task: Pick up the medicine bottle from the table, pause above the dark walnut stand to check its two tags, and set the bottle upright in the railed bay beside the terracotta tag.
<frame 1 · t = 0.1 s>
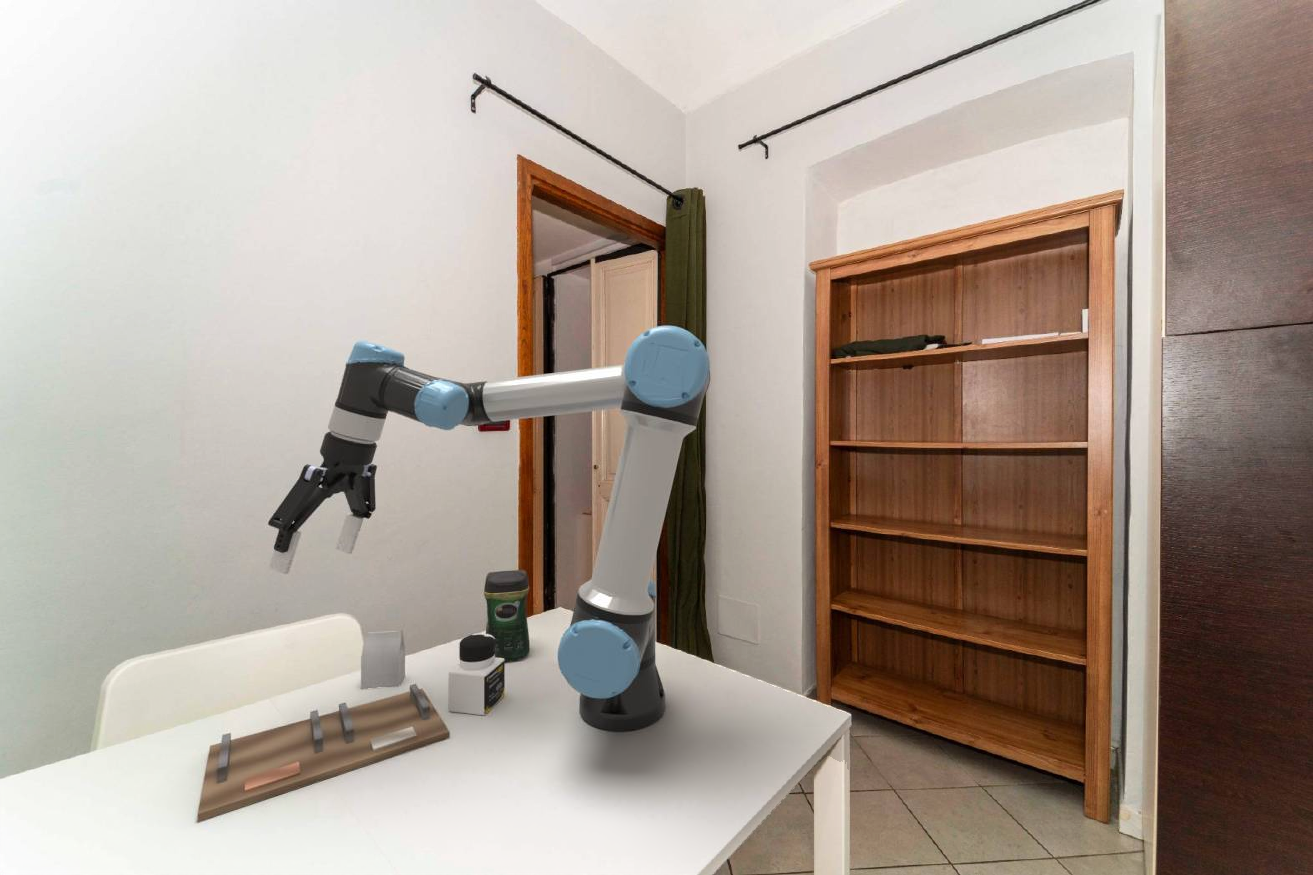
hand: (313, 560, 84), 28 cm above the table, tool tilted 20°, fingers open, 13 cm apart
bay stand: (332, 744, 80), on the table
grey boxy piece: (383, 684, 100), on the table
medicine bottle: (477, 705, 92), on the table
coffee jar: (506, 656, 113), on the table
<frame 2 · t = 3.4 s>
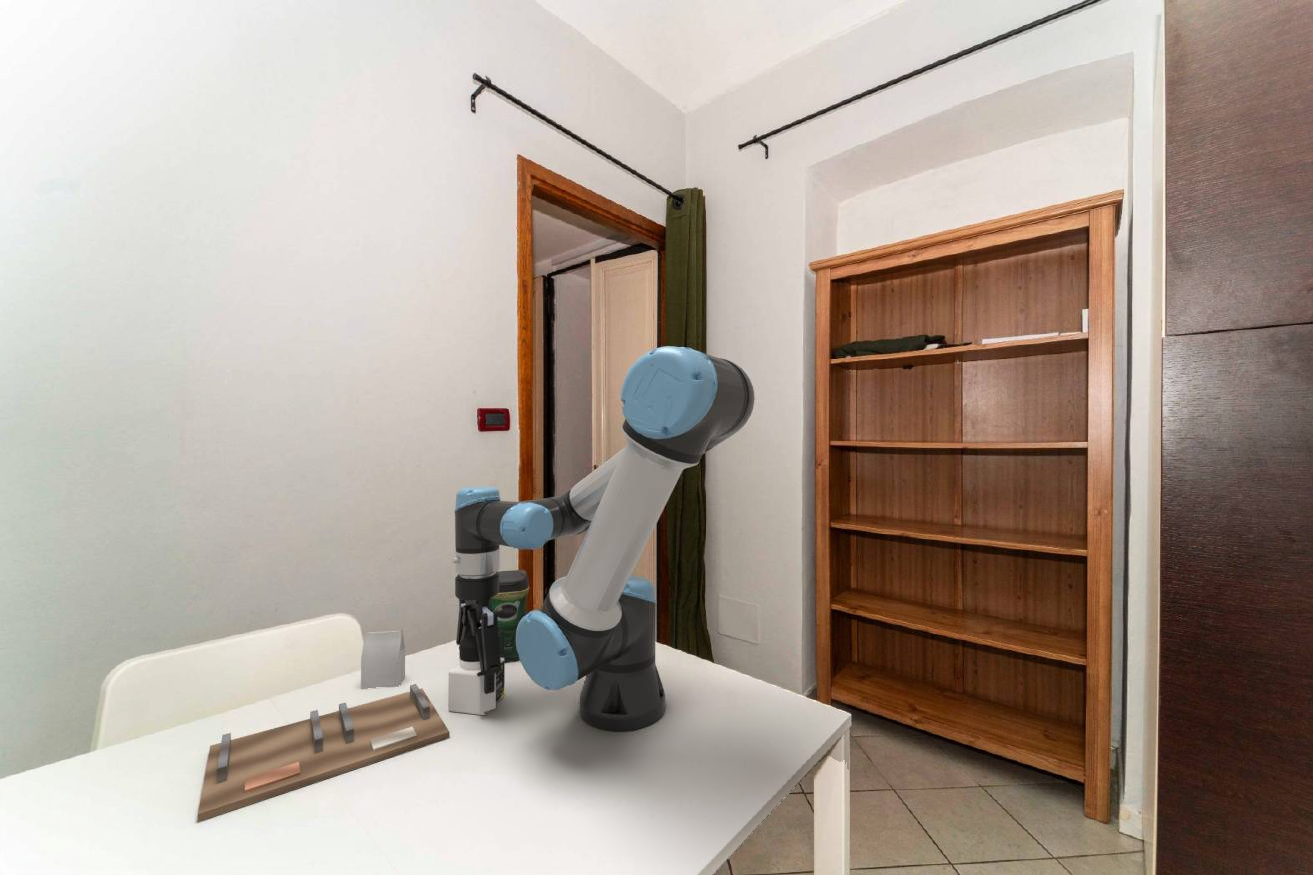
hand: (477, 697, 93), 1 cm above the table, tool pointing down, fingers closed on medicine bottle, 10 cm apart
medicine bottle: (477, 704, 93), on the table, touching gripper
everything else where it was.
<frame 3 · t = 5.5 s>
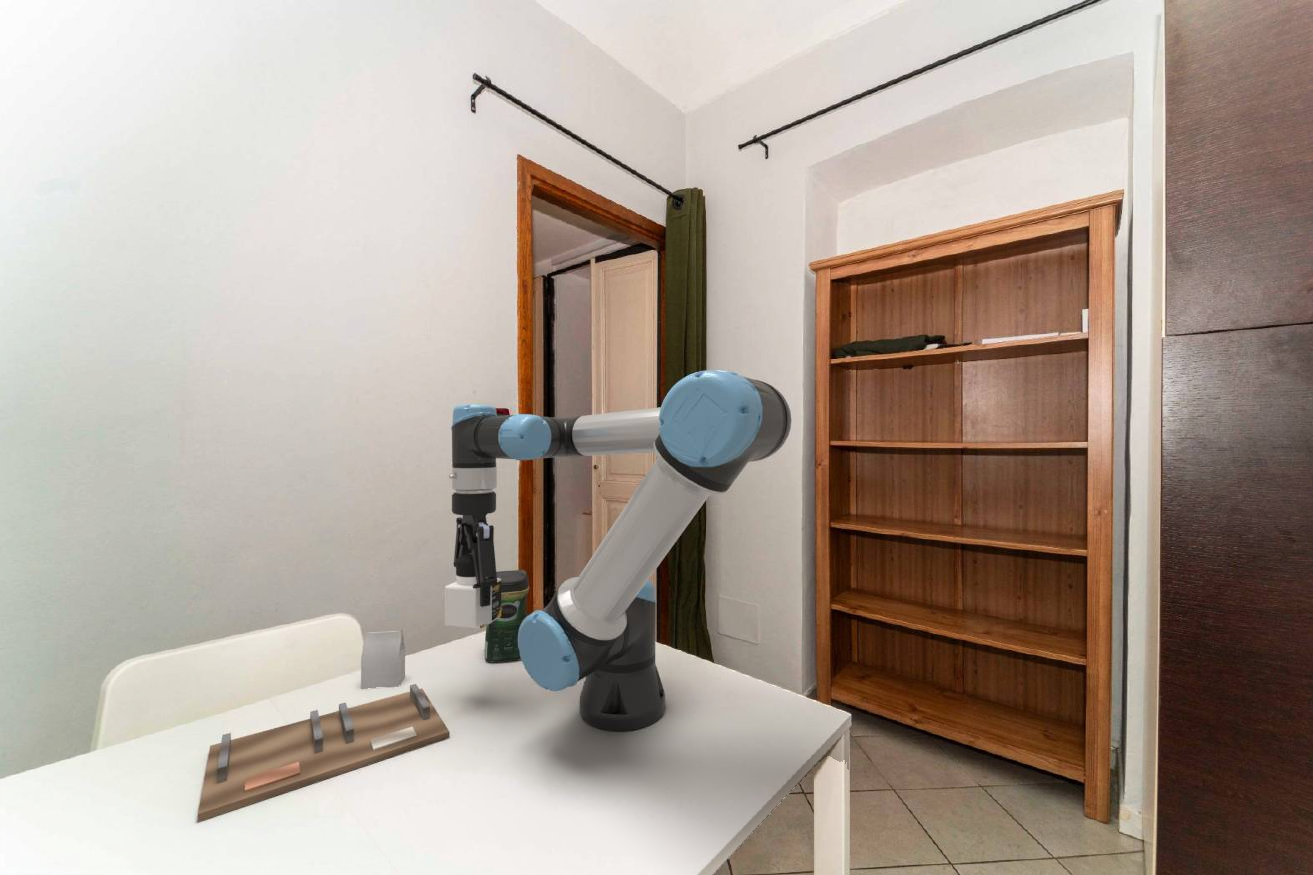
hand: (473, 615, 92), 16 cm above the table, tool pointing down, fingers closed on medicine bottle, 10 cm apart
medicine bottle: (473, 622, 92), point 15 cm above the table, touching gripper
everything else where it was.
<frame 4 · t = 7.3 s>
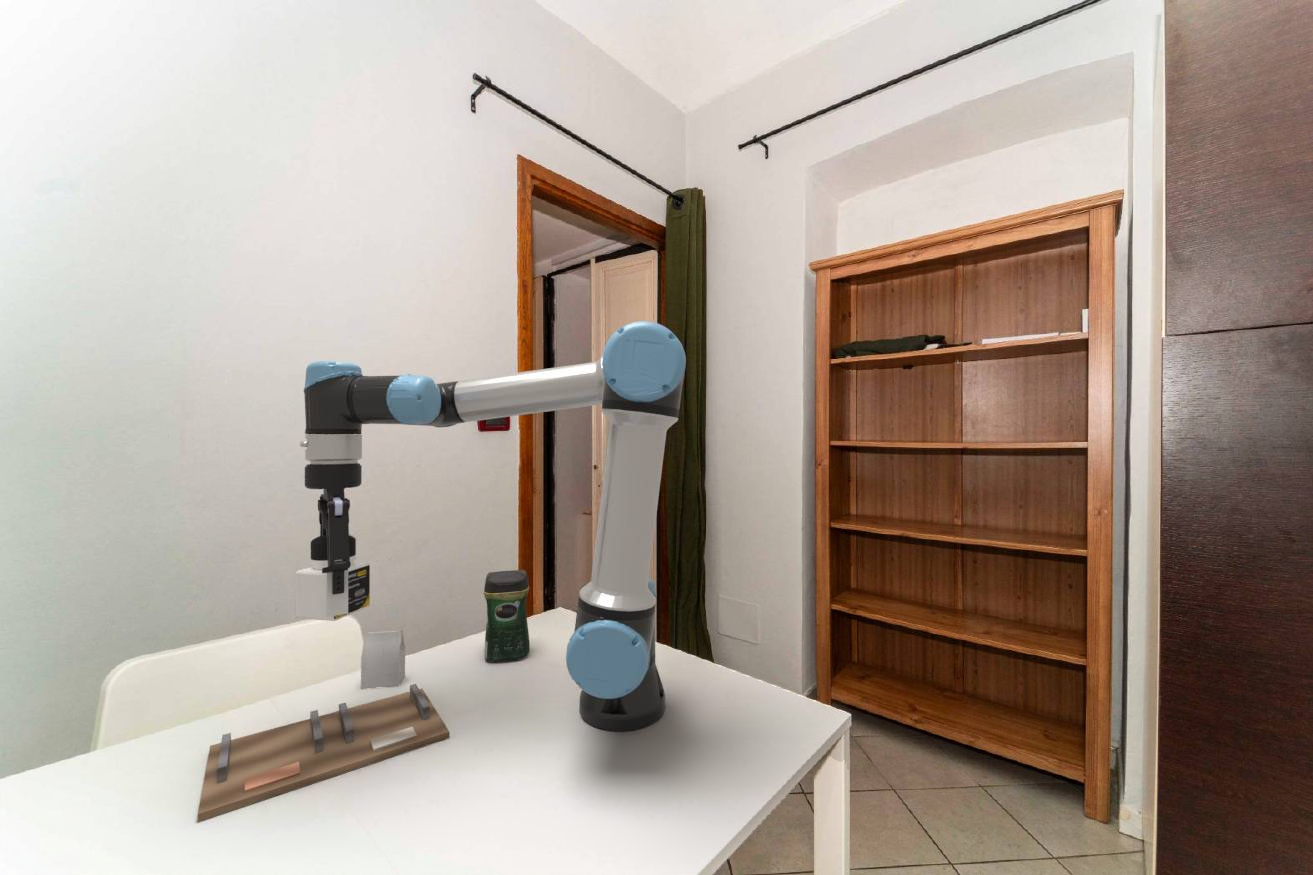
hand: (333, 605, 80), 22 cm above the table, tool pointing down, fingers closed on medicine bottle, 10 cm apart
medicine bottle: (333, 613, 80), point 20 cm above the table, touching gripper
everything else where it was.
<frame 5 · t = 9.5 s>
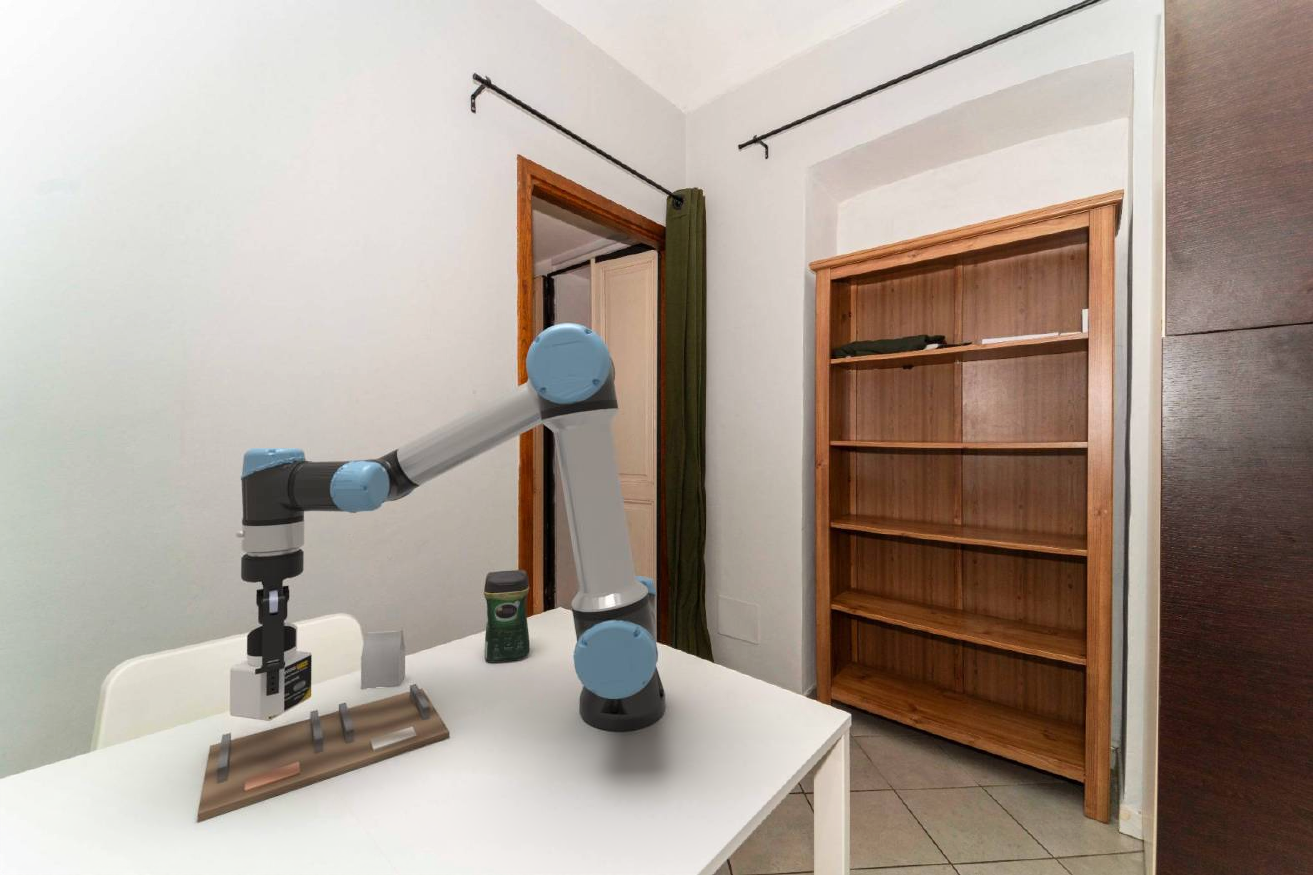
hand: (271, 699, 77), 8 cm above the table, tool pointing down, fingers closed on medicine bottle, 10 cm apart
medicine bottle: (271, 708, 77), point 7 cm above the table, touching gripper
everything else where it was.
when the fingers open (4 cm above the table, at t = 11.3 s): medicine bottle drops 2 cm, resting on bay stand.
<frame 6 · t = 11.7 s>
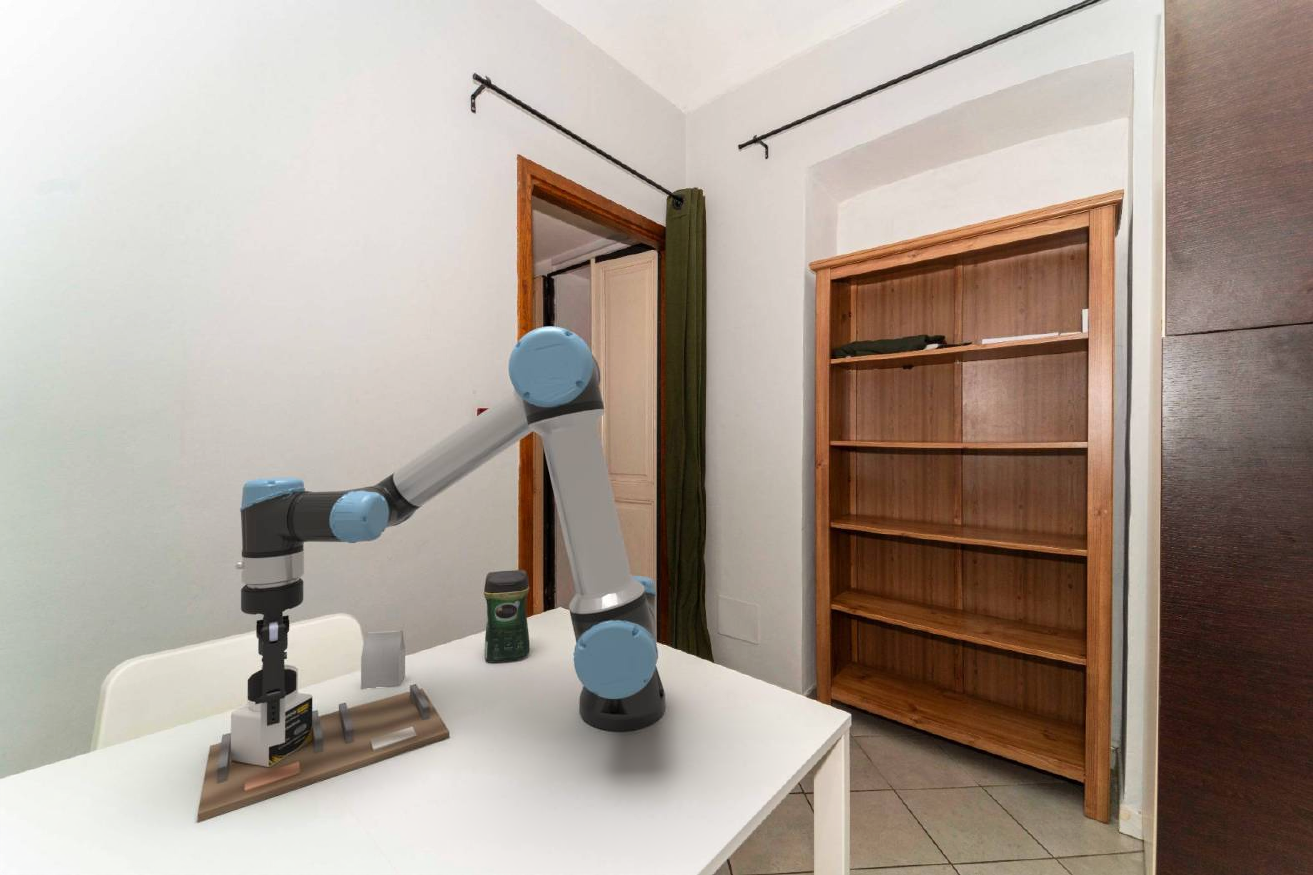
hand: (272, 723, 77), 5 cm above the table, tool pointing down, fingers open, 13 cm apart
medicine bottle: (272, 751, 77), point 1 cm above the table, touching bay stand
everything else where it was.
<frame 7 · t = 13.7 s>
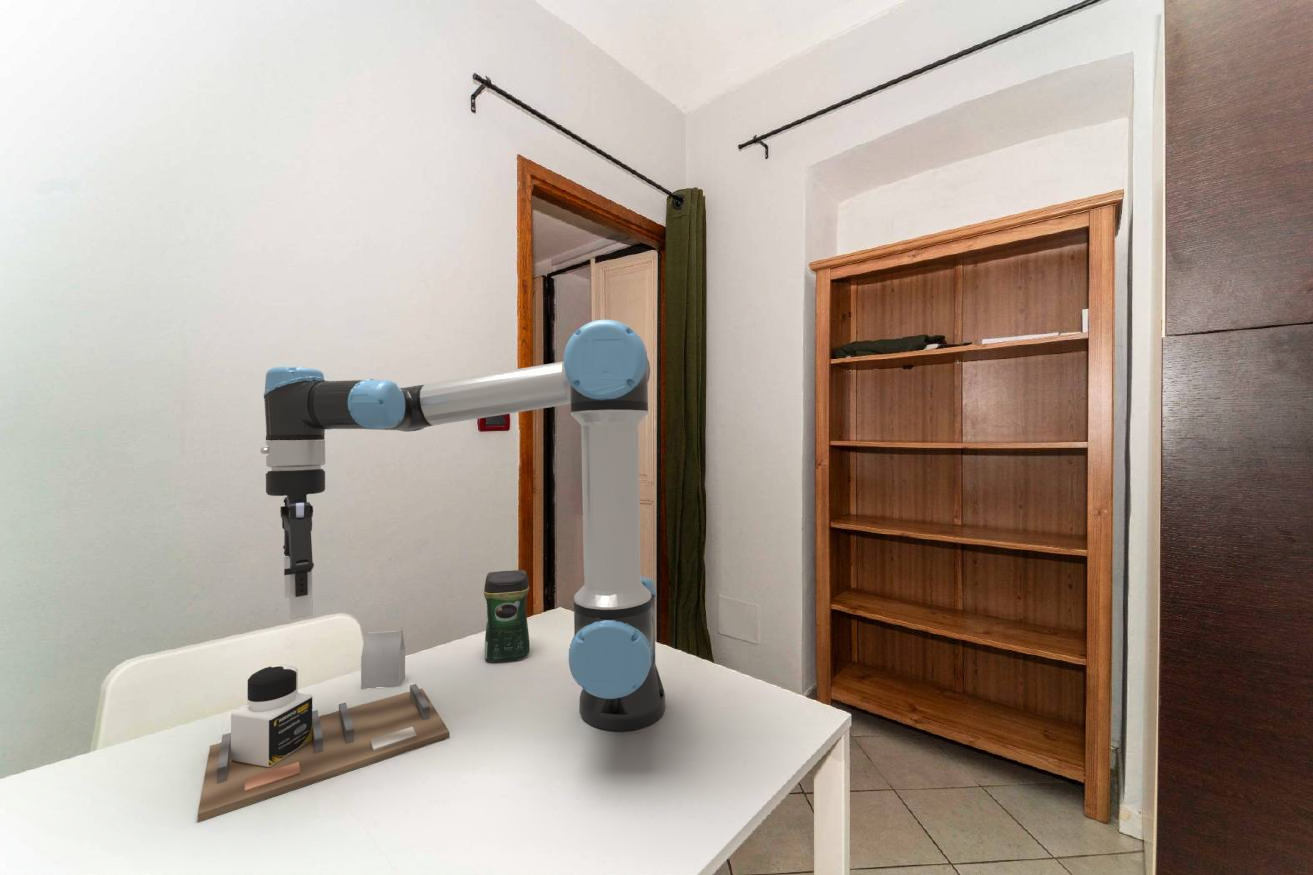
hand: (297, 606, 79), 22 cm above the table, tool pointing down, fingers open, 13 cm apart
nothing on the table moved.
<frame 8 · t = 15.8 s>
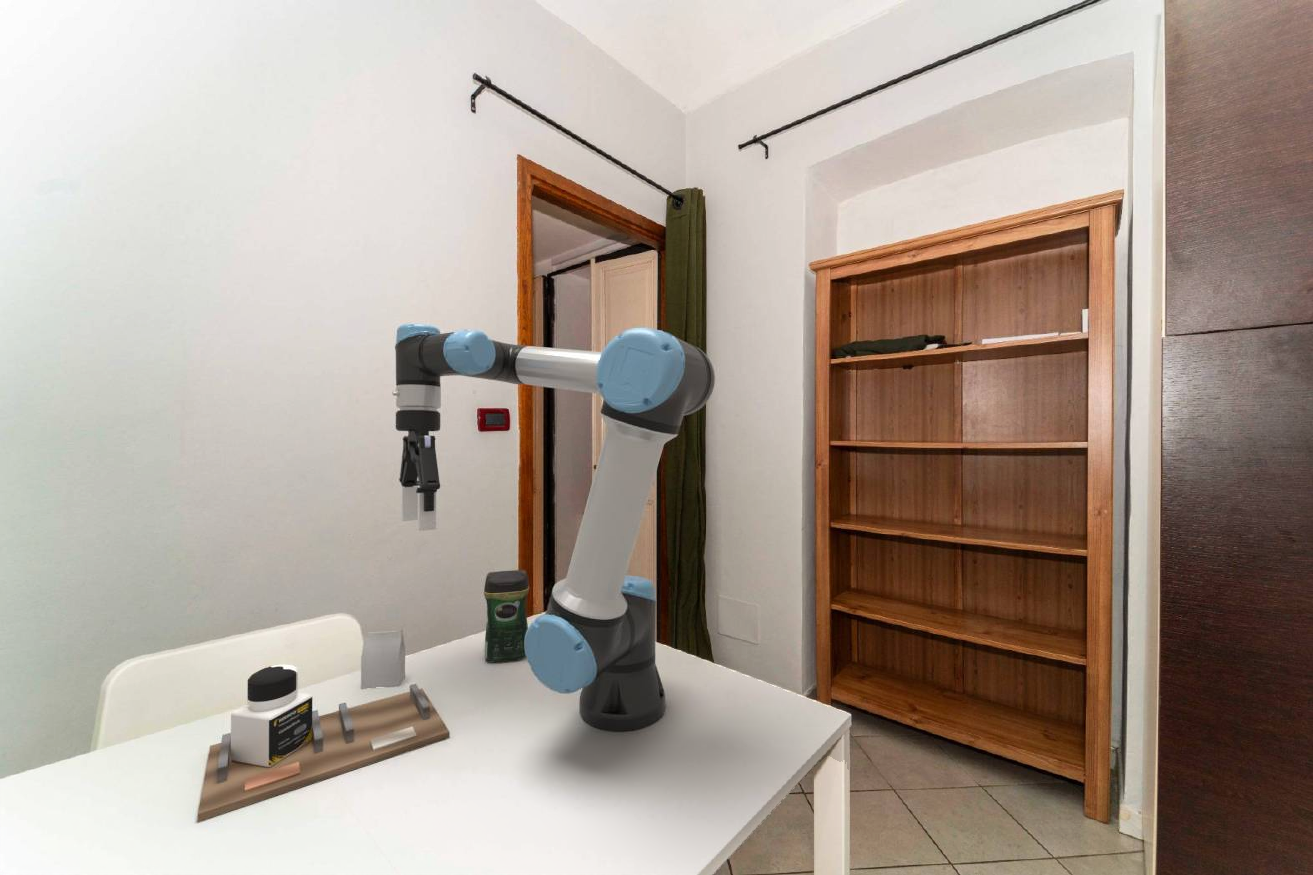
hand: (418, 525, 95), 32 cm above the table, tool pointing down, fingers open, 13 cm apart
nothing on the table moved.
at the end: medicine bottle 0.3 cm from the target spot on the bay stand, point 0.8 cm above the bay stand's base; medicine bottle tilted 0°; the gripper is holding nothing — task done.
